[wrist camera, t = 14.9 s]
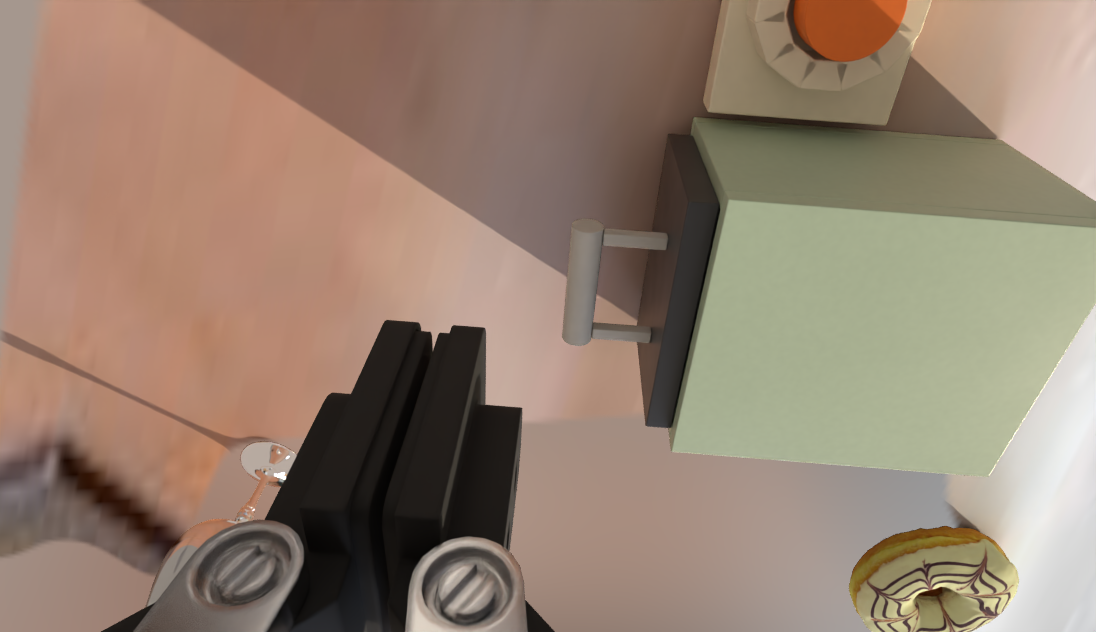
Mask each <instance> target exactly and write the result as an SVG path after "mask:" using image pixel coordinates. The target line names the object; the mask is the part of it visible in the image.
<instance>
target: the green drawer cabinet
mask: <svg viewBox="0 0 1096 632" xmlns="http://www.w3.org/2000/svg"><path fill="white" fill-rule="evenodd" d="M690 135H692V136H693V137H694V139H695V142H696V145H697V147H698V150H699V152H700V155H701V157H702V160H703V163H704V165H705V168H706V170H707V173H708V175H709V178H710V180H711V183H712V186H713V188H714V191H715V193H716V196H717V198H718V201H719V203H720V209H721V210H720V214H719V219H718V223H717V228H716V232H715V237H714V241H713V246H712V250H711V255H710V259H709V264H708V268H707V273H706V277H705V282H704V286H703V291H702V295H701V300H700V304H699V309H698V313H697V318H696V322H695V327H694V331H693V336H692V340H691V345H690V349H689V354H688V352H687V357H686V361H685V366H684V370H683V375H682V380H681V384H680V389H679V393H678V398H677V402H676V407H675V411H674V416H673V420H672V425H671V428H668V430H669V437H670V447H671V451H672V452H683V453H694V454H707V455H708V454H709V455H719V456H732V457H744V458H757V459H769V460H782V461H795V462H808V463H819V464H831V465H844V466H856V467H869V468H882V469H895V470H906V471H920V472H931V473H944V474H956V475H969V476H981V477H989V475H990V474H991V472H992V470H993V469H994V467H995V466H996V464H997V462H998V461H999V459H1000V457H1001V456H1002V454H1003V453H1004V451H1005V449H1006V448H1007V446H1008V445H1009V443H1010V441H1011V440H1012V438H1013V436H1014V435H1015V433H1016V432H1017V430H1018V428H1019V427H1020V425H1021V423H1022V422H1023V420H1024V419H1025V417H1026V415H1027V414H1028V412H1029V411H1030V409H1031V407H1032V406H1033V404H1034V402H1035V401H1036V399H1037V398H1038V396H1039V394H1040V393H1041V391H1042V389H1043V388H1044V386H1045V385H1046V383H1047V381H1048V380H1049V378H1050V377H1051V375H1052V373H1053V372H1054V370H1055V368H1056V367H1057V365H1058V364H1059V362H1060V360H1061V359H1062V357H1063V355H1064V354H1065V352H1066V351H1067V349H1068V347H1069V346H1070V344H1071V343H1072V341H1073V339H1074V338H1075V336H1076V334H1077V333H1078V331H1079V330H1080V328H1081V326H1082V325H1083V323H1084V321H1085V320H1086V318H1087V317H1088V315H1089V313H1090V312H1091V310H1092V309H1093V307H1094V305H1095V304H1096V202H1095V201H1094V200H1092V199H1091V198H1089V197H1088V196H1086V195H1085V194H1083V193H1082V192H1080V191H1079V190H1077V189H1076V188H1074V187H1072V186H1071V185H1069V184H1068V183H1066V182H1065V181H1063V180H1062V179H1060V178H1059V177H1057V176H1056V175H1054V174H1053V173H1051V172H1049V171H1048V170H1046V169H1045V168H1043V167H1042V166H1040V165H1039V164H1037V163H1036V162H1034V161H1033V160H1031V159H1030V158H1028V157H1026V156H1025V155H1023V154H1022V153H1020V152H1019V151H1017V150H1016V149H1014V148H1013V147H1011V146H1009V145H1008V144H1007V143H1005V142H1004V141H1002V140H995V139H982V138H969V137H955V136H942V135H929V134H915V133H902V132H888V131H875V130H862V129H848V128H835V127H822V126H808V125H795V124H781V123H768V122H755V121H741V120H728V119H714V118H701V117H694V118H693V123H692V128H691V134H690Z"/></svg>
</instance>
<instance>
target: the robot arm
mask: <svg viewBox="0 0 1096 632" xmlns="http://www.w3.org/2000/svg"><path fill="white" fill-rule="evenodd" d="M485 384H486V330H485V328H481V327H469V326H456V325H453V326H452V328H451V331H450V333H439V335H438V338H437V341H436V344H435V347H434V350H433V349H432V335H431V332H424V331H421V327H420V324H419V323H418V322H405V321H392V320H386V321H385V322H384V324H383V325H382V328H381V330H380V332H379V334H378V336H377V339H376V341H375V343H374V345H373V347H372V349H371V352H370V354H369V356H368V358H367V360H366V363H365V365H364V367H363V369H362V371H361V374H360V376H359V378H358V380H357V382H356V384H355V387H354V389H353V391H352V393H351V394H342V393H331V394H330V395H328V396H327V398H326V399H325V401H324V403H323V405H322V407H321V409H320V411H319V413H318V414H317V416H316V418H315V420H314V422H313V424H312V426H311V428H310V430H309V432H308V434H307V436H306V438H305V440H304V443H303V444H302V446H301V448H300V450H299V452H298V454H297V456H296V458H295V460H294V462H293V464H292V466H291V468H290V470H289V472H288V474H287V476H286V478H285V480H284V482H283V484H282V486H281V488H280V490H279V492H278V494H277V496H276V498H275V500H274V502H273V504H272V506H271V508H270V510H269V512H268V514H267V516H266V518H265V520H252V521H246V522H241V523H238V524H235V525H233V526H230V527H228V528H225V529H223V530H221V531H220V532H218V533H217V534H215V535H214V536H212V537H210V538H209V539H207V540H206V541H205V542H204V543H203V544H202V545H201V546H200V547H199V548H198V549H197V550H196V551H195V552H194V553H193V554H192V556H191V557H190V558H189V560H188V561H187V562H186V564H185V565H184V566H183V567H182V569H181V570H180V571H179V573H178V574H177V575H176V577H175V578H174V579H173V580H172V582H171V583H170V584H169V586H168V587H167V588H166V590H165V591H164V592H163V593H162V595H161V596H160V597H159V599H158V600H157V601H156V602H155V603H153V604H151V605H149V606H148V607H146V608H144V609H142V610H140V611H138V612H137V613H135V614H133V615H131V616H129V617H128V618H126V619H124V620H122V621H120V622H118V623H116V624H114V625H113V626H111V627H109V628H107V629H105V630H103V631H101V632H554V631H553V629H551V627H550V626H549V625H548V624H547V623H546V622H545V621H544V620H543V619H542V617H540V615H539V614H538V613H537V612H536V611H535V610H534V609H533V608H532V607H531V606H530V605H529V604H528V602H527V601H526V600H525V592H524V580H523V576H522V572H521V568H520V565H519V564H518V562H517V561H516V560H515V558H514V557H513V555H512V554H511V553H510V552H509V550H510V542H511V533H512V525H513V517H514V508H515V499H516V491H517V481H518V472H519V461H520V448H521V429H522V408H518V407H505V406H493V405H485Z"/></svg>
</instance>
